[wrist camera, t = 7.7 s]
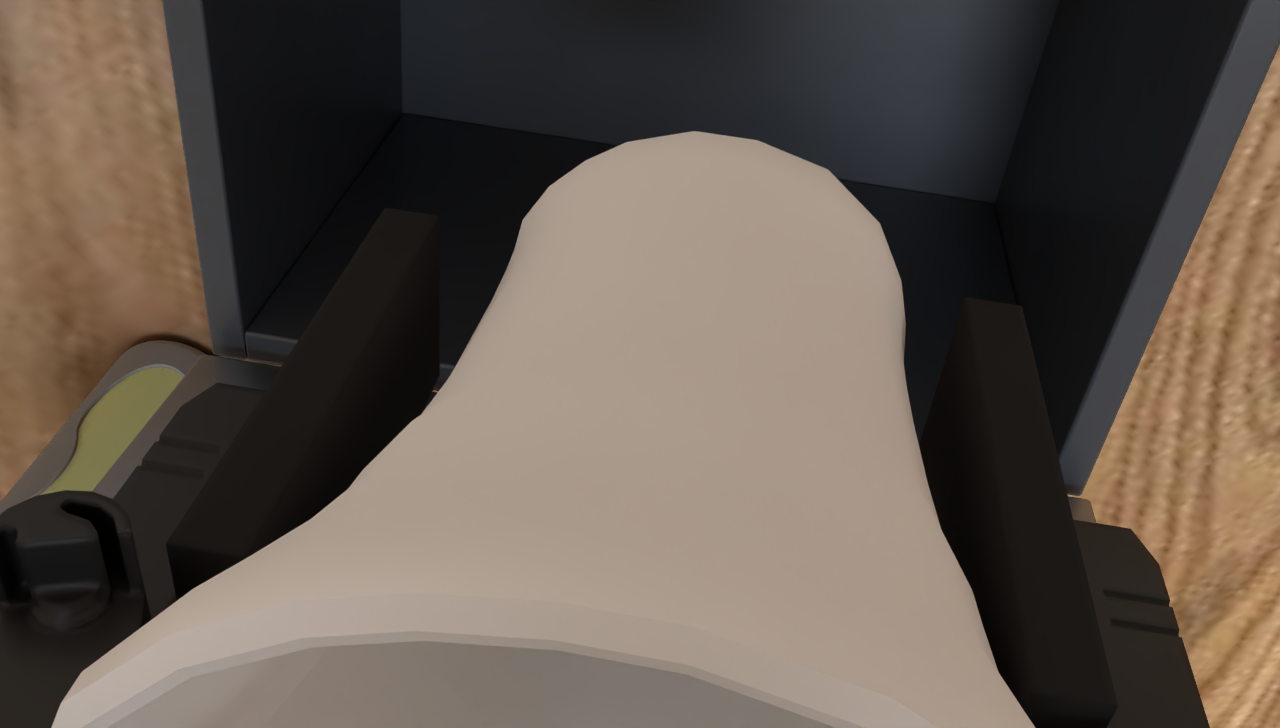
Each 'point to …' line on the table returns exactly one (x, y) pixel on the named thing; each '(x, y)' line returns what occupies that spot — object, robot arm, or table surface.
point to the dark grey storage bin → (739, 107)
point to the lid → (260, 377)
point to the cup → (618, 498)
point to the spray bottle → (106, 420)
